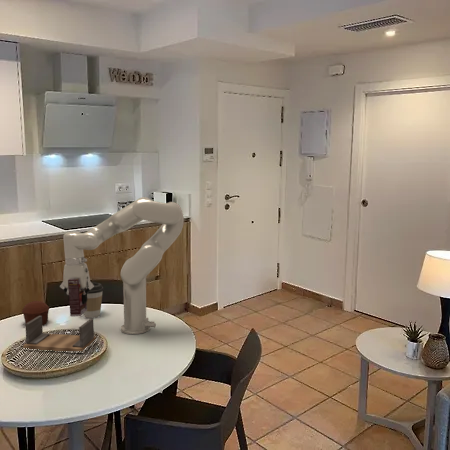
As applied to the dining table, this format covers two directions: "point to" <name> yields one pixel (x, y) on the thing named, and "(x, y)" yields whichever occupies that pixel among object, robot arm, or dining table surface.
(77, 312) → the supplement box
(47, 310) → the muffin
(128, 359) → the dining table surface
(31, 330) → the shelf
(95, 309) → the coffee cup
